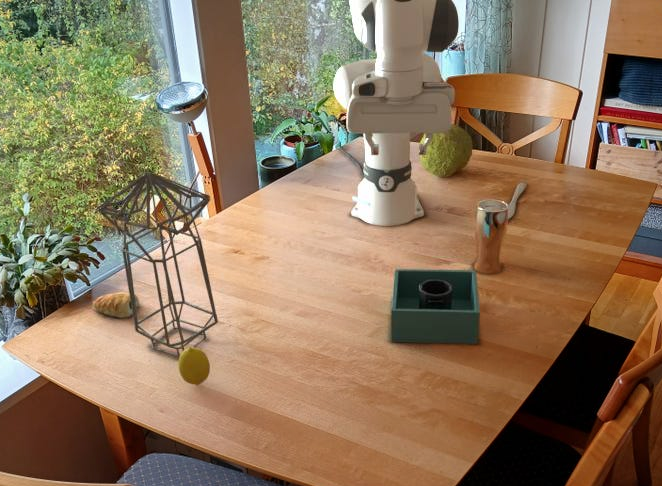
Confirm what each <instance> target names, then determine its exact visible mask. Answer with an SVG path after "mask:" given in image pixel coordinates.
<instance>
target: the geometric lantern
mask: <svg viewBox="0 0 662 486" xmlns="http://www.w3.org/2000/svg"><path fill="white" fill-rule="evenodd" d="M129 190H130V191H129ZM128 191H129V192H128ZM154 191H155V193H156V195H157V197H158V199H159V201H160V203H161V204H162V206H163V208H164V210H165V212H166V214H167V217H168V218H167V219H165V220H163V221H160V222H159V220H158V214H157V206H156V200H155V199H156V198H155V194H154ZM170 191H172V192H174V193H176V194H177V195H178V196H179V197H178V198H179V201H178V200H177V198H176V197H175V196H173V194H172V193H171V192H170ZM126 192H128V194H127V195H125V197H124V198H123V199H120V200H117V198H119V197H120V196H122V195H123V194H125V193H126ZM144 192H145V195H144V197H143V199H142V201H141V204H140V205H139V204H138V200H139V198H140V196H141V195H142V194H143V193H144ZM161 192H162V193H163V194H164V195H165V196H166V197H167V198H168V199H169V201H171V202H172V203H173V204H174V205H175V206H176V207H175V209H174V210H173V212H172V213H171V211H170V209H169V207H168V205H167V204H166V202H165V200H164V198H163V196H162V194H161ZM182 196H184V197H185V198H187V199H188V200H189V207H188V206H185V205H183V204H182ZM133 198H134V199H133ZM151 198H152V203H153V211H154V218H153V217H152V216H151ZM192 198H199V199H201V200H200V201H198V202H197V203H196V204H194V205H193V206H192ZM132 199H133V201H132ZM115 200H116V201H115ZM131 201H132V203H131V207H130V208H129V211H127V210H126V208H127V207H128V205H130V202H131ZM210 201H211V195H210V194H206V193H204V192H201V191H198V190H196V189H194V188H191V187H189V186H186V185H184V184H182V183H179V182H177V181H173V180H171V179H169V178H166V177H163V176H161V175H159V174H157V173H153V172H143V175H140V176H139V177H138V178H136V179H135V180H133V181H132V182H131V183H129V184H128V185H127V186H124V187H123V188H122V189H120V190H119V191H117V192H116V193H115V194H114V195H112V196H111V197H109V198H108V199H106V200H105V201H104V202H102V203H100V204H99V205H97V207H95V209H94V211H93V214H95V215H96V214H97V213H99V214H100V215H101V216H102V217H103V218H105V219H106V220H107V221H108V222H109V223H110V224H112V226H113V227H114V228H116V230H117V234H118V235H119V236H121V235H123V240H122V241H123V244H122V246H123V247H122V248H120V252H122V258H123V265H124V270H125V275H126V282H127V288H128V289H127V290H128V293H129V295H130V301H131V307H132V318H133V324H134V331H135V333H137V334H139V335H141V336H143V337H145V338H147V339H148V340H150V341H151V348H152V350H155V351H158V352H161V353H164V354H167V355H170V356H174V357H176V358H179V357H180V355H181V353H180V350H181V349H182V352H183V351H184V350H185V347H186V346H187V345H189V344H190V343H191V342H193V341H194V340H196V338H198V337H200V336H203V338H202V339H201V340H198V342H196V343H195V344H194V345H193V346H192V347H195V348H197V347H198V346H199V345H200V344H201V343H203V342H204V341H205V340H206V339H207V335H206V331H208V330H210V328H212V327H214V326H215V325H218V323H219V319H218V314H217V311H216V306H215V301H214V296H213V293H212V287H211V282H210V277H209V271H208V268H207V263H206V258H205V253H204V248H203V242H202V239H201V236H200V234H199V231H198V227H197V225H196V222H195V220H196V219H197V218H198V216H199V215H200V214H201V213H202V212H203V210H204V209H205V208H206V207H207V205H209V203H210ZM120 204H122V207H121V208H120V209H116V208H110V207H112V206H116V205H120ZM145 205H146V208H145V209H146V211H145V210H144V206H145ZM178 211H180V212H181V213H182V214H181V215H178V216H177V215H176V214H177V213H178ZM195 211H196V212H195ZM140 212H143V214H145V215H146V224H144V223H138V222H133V221H130V220H131V217H132V215H134V214H137V213H140ZM194 212H195V214H194V215H193V213H194ZM122 215H123V217H122ZM109 216H111V217H114V219H112V218H111V217H109ZM188 216H190V218H191V219H190V220H188V219H189V218H188ZM182 219H184V220H185V224H186V225H183V227H181V228H179V229H177V228H176V224H175V222H176V221H179V220H182ZM117 220H120V221H122V222H123V228H122V227H121V226H120V225H118V221H117ZM151 220H152V221H153V222H154V223H155V225H156V226H153V227H151ZM166 224H167V226H165V225H166ZM192 224H193V227H194V230H195V232H196V235H195V233H193V230H192V228H191V227H190V226H192ZM127 225H128V226H133V227H139V229H138V230H136V231H134V232H130V231H129V228H128V226H127ZM171 225H172V227H173V228H172V227H171ZM147 230H149V231H147ZM157 230H158V232H159V233H158V235H159V242H160V249H161V258H159V259H157V258H156V259H155V258H153V257H152V255H151V254H149V252H148V251H147V250H146V249H145V248H144V246H143V245H142V244H141V243H140V242H139V239H142V238H144V237H145V236H148V235H150V234H151V233H154V232H155V231H157ZM185 230H187V231H188V232H184V231H185ZM144 231H146V232H145V233H143V232H144ZM163 231H167V232H168V238H169V243H168V245H167V246H166V249H165V244H164V237H163ZM141 233H143V234H141ZM180 234H182V235H185V236H187V237H191V238H192V240H193V242H194V243H193V244H191V245H190V246H189V245H188V246H187V247H186V248H184V249H181V250H180V251H178V252H177V253H176V250H175V245H174V244H175V243H174V238H175V236H178V235H180ZM137 235H139V236H137ZM127 236H128V238H131V240H129V241H127ZM135 236H137V237H135ZM133 242H134V243H135V244H136V245H137V247H138V248H139V249H140V250H141V251H142V252H143V254H144V255H145V256H146V257H144V256H142V255H139V254H136V253H134V252H130V250H129V245H130V244H132V243H133ZM194 247H196V251H197V255H198V259H199V263H200V267H201V271H202V275H203V279H204V283H205V287H206V291H207V295H208V300H209V303H210V307H211V311H210V310H208V309H206V308H203V307H200V306H198V305H195V304H192V303H190V302H188V301H186V299H185V294H184V289H183V285H182V280H181V279H182V278H181V274H180V270H179V265H178V264H179V263H178V259H177V256H179V255H181V254H183V253H185V252H186V251H188V250H190V249H192V248H194ZM169 248H171V253H172V255H171V256H169V257H167V258H166V255H167V253H168V251H169V250H170V249H169ZM130 255H131V256H133V257H135V258H138V259H141V260H143V261H146V262H149V263H152V266H153V271H154V277H155V278H154V279H155V283H156V289H157V296H158V302H159V308H158V309H157V310H155V311H153V312H152V313H150V314H148V315H147V316H145V317H142V319H140V320H139V318H138V311H137V307H136V302H135V295H136V294H135V288H134V279H133V273H132V272H133V271H132V264H131V256H130ZM171 259H173V263H174V268H175V272H176V277H177V282H178V286H179V287H178V288H179V292H180V297H181V300H178V301H175V298H174V293H173V289H172V285H171V280H170V275H169V271H168V266H167V265H168V264H167V261H170V260H171ZM157 263H160V264H161V263H162V267H163V271H164V277H165V282H166V283H165V284H166V292H167V298H168V299H167V300H168V303H166V304H165V305H164V303H163V297H162V290H161V285H160V279H159V274H158V268H157ZM134 294H135V295H134ZM177 305H180V307H179V312H178V310H177ZM184 305H186V306H188V307H191V308H193V309H196V310H199V311H200V312H203V313H206V314H209V315H211V316H210V317H209V319H208V320H207V321H206V323H205V325H203V326H202V325H199V324H195V323H192V322H190V321H186V320H182V319H180V318H181V315H182V312H183V311H182V310H183V307H184ZM167 308H169V312H170V315H171V318H172V319H171V320H170V321H168V323H167V320H166V314H165V309H167ZM159 313H161V319H162V325H163V326H162V327H161V328H160V329H158V330H157V331H155V332H154V333H153V334H150V333H148V332H147V331H146V330H145V329H144V328H142V327H141V326H140V324H142V323H143V322H145V321H147V320H148V319H150V318H152V317H153V316H155V315H157V314H159ZM212 319H213V322H211V321H212ZM175 322H176V323H175ZM210 322H211V323H210ZM181 323H184V324H187V325H190V326H193V327H196V328H200V330H199V331H195V330H192V329H188V328H185V327H182V326H181ZM209 323H210V324H209ZM171 324H172V329H170V330H169V331H168V326H170V325H171ZM176 326H177V327H176ZM176 330H177V331H178V334H179V339H180V341H178V342H174V343H170V337H169V335H170V334H171V333H173V332H174V331H176ZM161 331H164V335H162V336H160V338H157V337H155V336H156V335H157V334H159V333H160V332H161ZM183 331H185V332H190V333H193V334H192V335H190V336H189V337H187V338H185V339H184V334H183ZM164 338H165V341H164V340H163V339H164ZM157 343H159V344H161V345H163V346H165V347H167V348H169V349H174V350H176V354H175V353H172V352H170V351H166V350H164V349H161V348H158V347H155V346H156V344H157Z"/></svg>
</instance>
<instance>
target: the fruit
mask: <svg viewBox="0 0 662 486" xmlns="http://www.w3.org/2000/svg"><path fill="white" fill-rule="evenodd" d="M426 139H427V138H425V133H423V136H422V138H421V140H420V143H419V144H424V142H425V140H426ZM473 148H474V147H473V140H472V137H471V136H470V134H469V133H468V132H466V130H465V129H464V128H462V127H460V125H457V124H453V123H452V126H451V129H450V130H449V132H448V133H433V139H432V140H431V142H430V143H429V145H428V147H427V151H426V155H419V154H418V157H419V161H420V162H421V164H422V165H423V168H424V169H425V170H426V171H428V173H429V174H431V175H434V176H437V177H439V178H444V177H452V175H454V174H455V172H457V171H461V170H462V169H464V168H466V167H467V166H468V164H469V162H470V160H471V158H472V156H473Z"/></svg>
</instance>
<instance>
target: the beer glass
mask: <svg viewBox="0 0 662 486" xmlns="http://www.w3.org/2000/svg"><path fill="white" fill-rule="evenodd" d="M508 205H509V203H507V202H505V201H503V200H499V199H491V198H490V199H483V200H481V201H479V202H478V203H477V205H476V212H475V219H474V237H475V247H476V256H475V259H474V263H473V269H474V270H476V272H477V273H481V274H485V275H486V274H488V275H489V274H496V273H498V272H499V271H501V269H502V261H501V253H502V248H503V245H504V242H505V239H506V236H507V235H506V234H507V231H508V224H509V223H508V222H509V219H508Z"/></svg>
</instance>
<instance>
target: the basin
mask: <svg viewBox="0 0 662 486" xmlns="http://www.w3.org/2000/svg"><path fill="white" fill-rule="evenodd" d="M393 274H394V275H393V287H392V297H391V298H392V299H391V309H390V314H391V315H390V342H391V343H392V342H395V343H396V342H397V343H424V344H425V343H427V344H428V343H429V344H430V343H431V344H461V345H462V344H466V345H469V344H470V345H473V344H474V345H477V344H478V339H479V330H480V329H479V328H480V316H481V310H480V309H481V308H480V298H479V289H478V288H479V287H478V279H477V271H476V270H475V269H474V270H473V269H472V270H471V269H469V270H467V269H414V268H413V269H409V268H408V269H407V268H394V273H393ZM429 279H442V280H443V281H447V282H448V283H450V284H451V285H452V305H451V310H434V309H419V289H420V284H421V283H423V282H424V281H427V280H429Z"/></svg>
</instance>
